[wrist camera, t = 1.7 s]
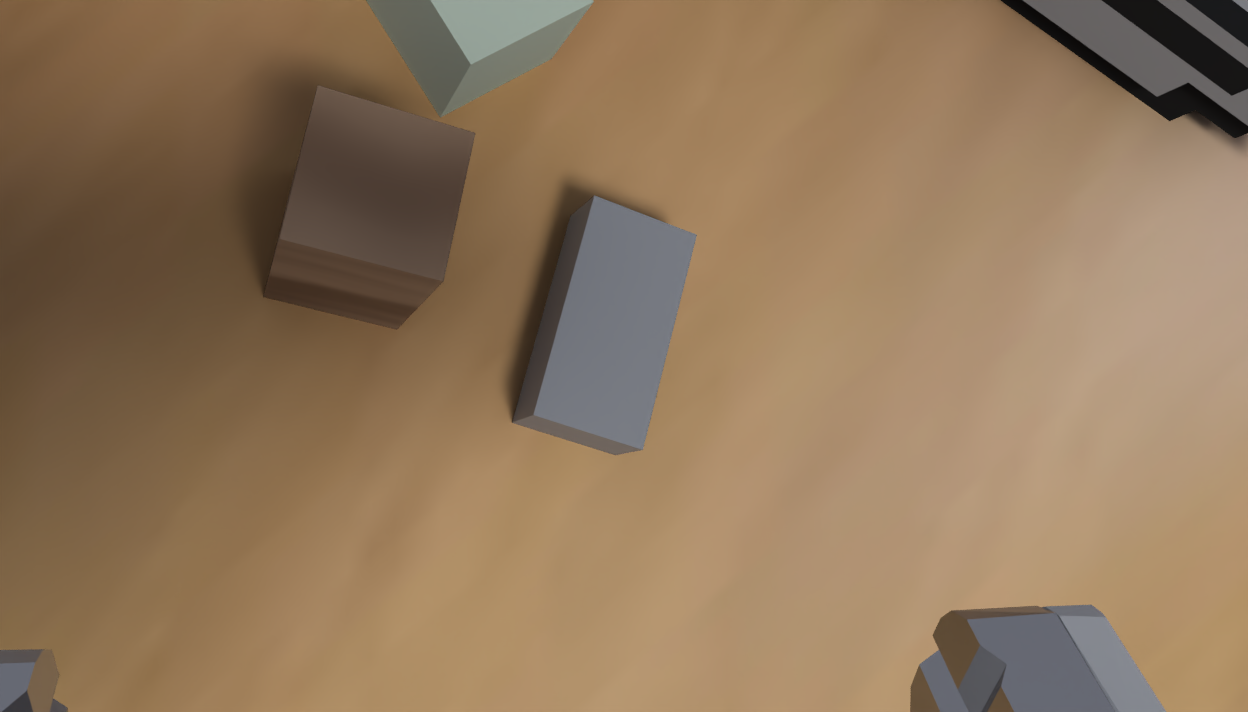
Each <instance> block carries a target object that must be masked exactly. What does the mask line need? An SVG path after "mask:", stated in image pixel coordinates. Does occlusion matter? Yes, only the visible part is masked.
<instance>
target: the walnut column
mask: <svg viewBox="0 0 1248 712" xmlns="http://www.w3.org/2000/svg"><path fill="white" fill-rule="evenodd" d="M474 137H475V133H474V132H470V131H467V130H464V129H461V128H457V127H454V126H451V125H447V124H444V123H441V122H437V121H434V120H431V119H428V118H424V117H421V116H418V115H414V114H411V113H408V112H405V111H401V110H398V109H395V108H391V107H388V106H385V105H382V104H378V103H375V102H372V101H368V100H365V99H362V98H358V97H355V96H352V95H349V94H345V93H342V92H339V91H335V90H332V89H329V88H326V87H322V86H319V85H318V87H317V90H316V94H315V98H314V101H313V105H312V109H311V113H310V116H309V120H308V124H307V128H306V131H305V135H304V139H303V142H302V146H301V150H300V154H299V157H298V161H297V165H296V169H295V172H294V176H293V180H292V184H291V188H290V192H289V196H288V200H287V204H286V208H285V212H284V216H283V220H282V224H281V228H280V232H279V236H278V240H277V244H276V248H275V252H274V256H273V260H272V264H271V268H270V272H269V276H268V280H267V284H266V288H265V292H264V296H263V297H265V298H270V299H274V300H278V301H282V302H286V303H290V304H294V305H298V306H302V307H307V308H311V309H315V310H319V311H323V312H327V313H331V314H335V315H340V316H344V317H348V318H352V319H356V320H360V321H364V322H368V323H372V324H377V325H381V326H385V327H389V328H393V329H398V328H399V327H400V326H401V325H402V324H403V323H404V321H405V320H406V319H407V318H408V317H409V316H410V315H411V314H412V313H413V312H414V311H415V310H416V309H417V308H418V307H419V306H420V305H421V304H422V303H423V302H424V301H425V300H426V299H427V298H428V297H429V296H430V295H431V294H432V293H433V292H434V291H435V290H436V288H437V287H438V286H439V285H440V284H441V283H442V282H443V281H444V276H445V271H446V267H447V262H448V258H449V253H450V248H451V244H452V239H453V234H454V230H455V225H456V220H457V216H458V211H459V206H460V202H461V197H462V193H463V188H464V183H465V179H466V174H467V169H468V165H469V160H470V155H471V151H472V146H473V141H474Z"/></svg>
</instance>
